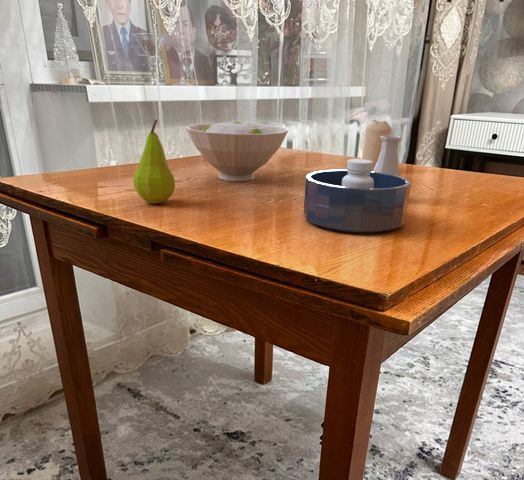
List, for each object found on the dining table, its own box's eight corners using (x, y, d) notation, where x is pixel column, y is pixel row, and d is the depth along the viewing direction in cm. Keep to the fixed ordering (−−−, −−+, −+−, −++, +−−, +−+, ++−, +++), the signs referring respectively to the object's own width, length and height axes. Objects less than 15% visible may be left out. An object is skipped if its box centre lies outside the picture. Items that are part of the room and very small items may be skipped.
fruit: (126, 202, 84) (119, 118, 78) (158, 196, 88) (153, 116, 83) (153, 209, 80) (147, 122, 75) (184, 203, 84) (181, 120, 79)
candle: (391, 170, 118) (397, 120, 113) (377, 173, 114) (383, 122, 109) (369, 167, 121) (375, 118, 116) (355, 169, 117) (360, 119, 113)
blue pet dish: (415, 219, 80) (422, 177, 77) (386, 242, 69) (393, 194, 66) (326, 205, 86) (329, 166, 83) (286, 225, 75) (289, 180, 72)
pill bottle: (369, 214, 79) (376, 159, 75) (369, 222, 75) (376, 164, 71) (339, 212, 79) (344, 157, 76) (337, 220, 76) (343, 162, 72)
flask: (369, 204, 87) (377, 138, 83) (355, 195, 94) (362, 133, 89) (411, 204, 88) (421, 139, 84) (395, 195, 95) (403, 134, 90)
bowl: (253, 192, 93) (255, 130, 89) (165, 178, 102) (162, 121, 97) (302, 176, 108) (306, 122, 104) (222, 165, 117) (222, 115, 112)
